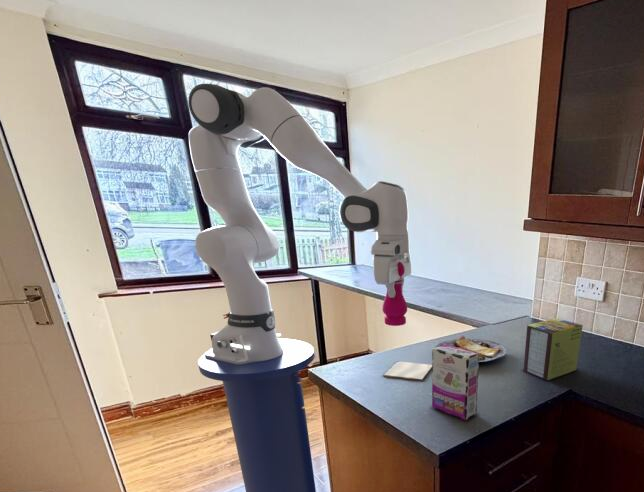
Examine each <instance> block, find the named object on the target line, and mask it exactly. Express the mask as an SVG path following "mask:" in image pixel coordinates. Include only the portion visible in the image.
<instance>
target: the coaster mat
mask: <svg viewBox="0 0 644 492" xmlns="http://www.w3.org/2000/svg"><path fill="white" fill-rule="evenodd" d="M431 370H432V364H429V363H419V362H418V363H417V362H408V361H399V360H397V361H396V362H395V363H394V364H393V365H392V366H391V367H389V369H388V370H387V371H386V372H385V373H384V374H383V377H385V378H395V379H404V380H411V381H412V380H414V381H424V379H425V377H426V376H427V375H428V374H429V373H430V371H431Z"/></svg>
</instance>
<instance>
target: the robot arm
mask: <svg viewBox="0 0 644 492" xmlns="http://www.w3.org/2000/svg"><path fill="white" fill-rule="evenodd" d="M187 101H188V109H189V111H190V114H191V116H192V119H194V121H195V122H196V123H197V125H195V126H193V127H191V128H190V130H189V132H188V145H189V152H190V158H191V162H192V165H193V170H194V173H195V176H196V179H197V182H198V186H199V189H200V192H201V196H202V199H203V202H204V203H205V204H206V206H207V207H208V208H210V209H211V210H213V211H214V212H216V214H217V215H218V216H219V217H220V218H221V220H222V222H223V223H224V225H217V226H213V227H210V228H207V229H205V230H202V231H200V232H199V233H198V234H197V235H196V237H195V240H194V247H195V251H196V254H197V256H198V257H199V259H200V260H201V261H202V262H203V263H204V264H206V265H207V266H209V267H210V268H212V269H213V270H214V272H215V273H216V274H217V275H218V276H219V278H220V279H221V282H222V283H223V285H224V288H225V292H226V296H227V300H228V305H229V310H230V311H229V312H228V313H226V314H223V315H222V316H223V319H227V324H226V325H224V327H222V328H221V329H219V330H218V331H217V332H213V333H210V334H209V336H210V340H211V348H210V349H209V350H207V351H205V353H204V354H205V357H206V358H210V359H215V360H219V361H224V362H228V363H233V364H237V365H241V364H246V363H251V362H259V361H266V360H270V359H273V358H276V357H279V356H280V355H282V354H283V353H284V350H283V349H282V347H281V344H280V342H279V339H280V338H279V337H281V336H282V334H281V333H277V330H276V316H275V311H274V309H273V308H272V303H271V295H270V288H269V285H268V284H267V282H265V280H263V279H261V278H260V277H259V275H257V273H256V271H255V268H254V264H259V263H264V262H266V261H268V260H270V259H272V258H274V257H275V256H277V255H278V252H279V251H280V250H279V249H280V241H279V238H278V236H277V235H276V233H275V232H274V231H273V230H272V229H271V228H269V227H268V226H267V225H266V223H264V221H263V219H262V218H261V216H260V215H259V213H258V212H257V210H256V208H255V207H254V204H253V202H252V200H251V198H250V197H251V196H250V195H249V191H248V188H247V185H246V184H247V183H246V181H245V177H244V174H243V171H242V167H241V164H240V160H239V156H238V155H239V154H238V150H239V148H240V147H241V148H243V149H247V148H249V147H251V146H253V145H255V144H258V143H260V142H262V141H265V140H267V142H268V143H269V144H270V145H271V146H272V147H273V148H274V150H275V151H276V152H277V153H278V154H279V155H280V156H281V157H282V158H283V159H285V160H286V162H288V163H290V164H291V165H292V166H293V167H295V168H297V169H299V170H302V171H305V172H308V173H310V174H312V175H315V176H317V177H319V178H321V179H323V180H324V181H326V182H327V183H328V184H330V185H331V186H332V187H333V188H334V189H335V190H336V191H337V192H338V193H339V194H340V196H342V197H343V199H342V200H341V202H340V204H339V207H338V208H339V209H338V211H339V212H338V214H339V215H338V216H339V219H340V221H341V223H342V224H343V226H344V227H345V228H346V229H348V230H350V231H352V232H355V233H368V232H369V233H370V232H371V233H372V232H373V233H375V234H376V239H375V241H374V242H373V244H372V245H371V247H370V255H372V256H373V257H372V265H373V266H372V267H373V269H372V270H373V277H374V281H375V283H376V284H377V285H382V286H383V285H384V286H385V288H386V291H387V290H388V296H389V297H391V298H393V297H395V296H396V291H395V289H394V285H395V283H394V282H395V281H397V280H399V279H400V276H399V274H398V266H397V265H398V263H399V262H401V263H402V264H403V265H404V269H405V271H404V274H403V275H402V277H401V278H403V283H402V287H401V288H402V293H404V284H405V277H408V276H411V275H412V271H413V267H412V258H411V257H412V256H411V251H410V247H411V246H410V232H409V228H408V224H409V204H408V196H407V192H406V190H405V188H404V187H402V186H401V185H400V184H396V183H392V182H388V181H382V180H379V181H376V182H375V183H374V184H373V185H372V186H370V187H369V188H366V187H365V186H364V185H363V184H362V183H361V182H360V181H359V180H358V179H357V178H356V177H355V175H353V174H352V173H351V172H350V171H349V169H348V168H347V167H346V166H345V165H344V164H343V163H342V162H341V161H340V159H338V157H337V156H336V155H335V154H334V153H333V151H332V150H331V149H330V148H329V146H328V145H327V144H326V143H325V142H324V140H323V139H322V138H321V136H320V135H319V134H318V132H317V131H316V130H315V129H314V128H313V127H312V125H311V124H310V123H309V122H308V120H307V119H306V118H305V117H304V115H302V113H301V112H300V111H299V110H298V109H297V108H296V107H295V106H294V105H293V104H292V103H291V102H290V101H288V100H287V99H286V98H285V97H284V96H283V95H282V94H280V93H279V92H278V91H277V90H276V89H273V88H271V87H259V88H257V89H255V90H253V92H252V93H251V94H250V95H249V96H245V95H244V94H243V93H240V92H238V91H236V90H233V89H229V88H226V87H224V86H222V85H218V84H215V83H199V84H197V85H195V86H194V87H192V89H191V90H190V92H189V94H188V99H187ZM278 338H279V339H278Z"/></svg>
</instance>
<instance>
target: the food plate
mask: <svg viewBox="0 0 644 492" xmlns="http://www.w3.org/2000/svg"><path fill="white" fill-rule="evenodd" d="M444 344H445V345H448V346H452V347H456V348H460V349H464V350H468V351H471V352H475V353H479V363H481V362H482V363H483V362H490V361H494V360H497V359H500V358H501V357H504V356H506V354H507V348H506V347H504V346H503V345H502V344H500V343H497V342H496V341H491V340H485V339H480V338H467V337H465V336H464V335H462V336H460V337H459V338H458V339H457V338H456V339H450V340H446V341H445V340H444V341H442V342H440V343H438V344H437V345H436V346H435V347H438V346H441V345H444Z"/></svg>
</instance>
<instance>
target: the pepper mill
mask: <svg viewBox="0 0 644 492" xmlns="http://www.w3.org/2000/svg"><path fill="white" fill-rule="evenodd" d="M397 266H398V274H399V276H400V279H399V280H397V281H395V282H394V283H395V285H394V289H395V291H396V296H395V297H393V298H391V297H389V296H388V290H387V289H386V294H385V297H384V300H383V302H382V303H383V304H382V312H383V314H384V315H385V316H384V324H385V325H386V326H390V327H391V326H392V327H399V326H404V325H406V324H407V317H406V316H405V315H406V314H407V312H408V305H407V301H406V299H405V297H404V294H403V292H402V288H401V287H402V283H403V278H401V277H402V275H403V274H404V271H405V269H404V265H403V264H402V263H401V262H399V263H398V265H397Z"/></svg>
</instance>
